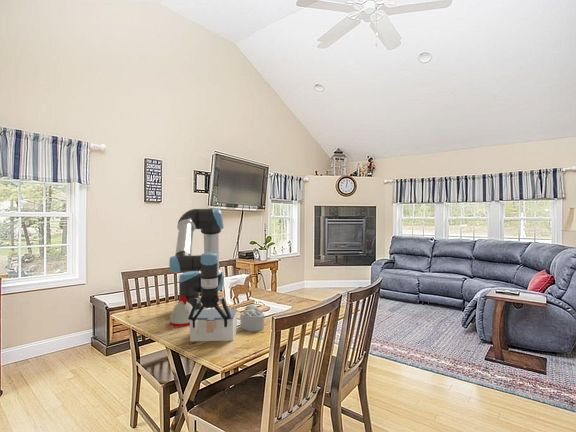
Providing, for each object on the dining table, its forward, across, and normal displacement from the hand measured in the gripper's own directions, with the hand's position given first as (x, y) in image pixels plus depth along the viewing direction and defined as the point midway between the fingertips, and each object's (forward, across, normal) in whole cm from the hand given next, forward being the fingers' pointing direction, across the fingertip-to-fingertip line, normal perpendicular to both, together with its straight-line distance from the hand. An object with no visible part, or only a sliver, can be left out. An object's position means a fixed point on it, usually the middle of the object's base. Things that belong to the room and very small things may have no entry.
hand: (210, 334), depth 158 cm
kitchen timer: (+4, -21, +31) cm, 38 cm away
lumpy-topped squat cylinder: (+5, +18, +21) cm, 28 cm away
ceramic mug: (+5, +18, +34) cm, 39 cm away
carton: (+4, 0, +10) cm, 11 cm away
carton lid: (-1, 0, +8) cm, 8 cm away
